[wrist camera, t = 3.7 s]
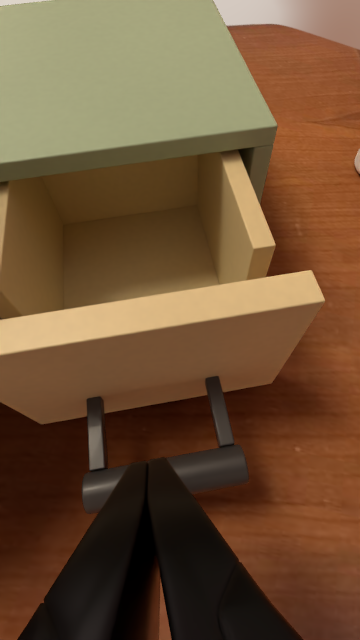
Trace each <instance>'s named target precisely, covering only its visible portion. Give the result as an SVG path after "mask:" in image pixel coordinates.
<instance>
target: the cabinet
mask: <svg viewBox="0 0 360 640" xmlns="http://www.w3.org/2000/svg"><path fill="white" fill-rule="evenodd" d="M276 131H277V123H276V121H275V119H274V117H273V116H272V114H271V112H270V110H269V108H268V106H267V104H266V102H265V100H264V98H263V96H262V94H261V92H260V90H259V88H258V87H257V85H256V83H255V81H254V79H253V77H252V75H251V73H250V71H249V69H248V67H247V65H246V63H245V61H244V59H243V58H242V56H241V54H240V52H239V50H238V48H237V46H236V44H235V42H234V40H233V38H232V36H231V34H230V32H229V30H228V28H227V27H226V25H225V23H224V21H223V19H222V17H221V15H220V13H219V11H218V9H217V7H216V5H215V3H214V1H213V0H51V1H42V2H33V3H24V4H15V5H5V6H0V182H4V181H11V180H19V179H26V178H33V177H40V176H47V175H55V174H62V173H69V172H76V171H84V170H91V169H98V168H105V167H113V166H120V165H127V164H134V163H142V162H149V161H156V160H163V159H171V158H178V157H185V156H192V155H200V154H207V153H214V152H221V151H229V150H236V149H238V151H239V154H240V156H241V159H242V161H243V164H244V166H245V169H246V171H247V174H248V176H249V179H250V181H251V184H252V186H253V189H254V191H255V194H256V196H257V199H258V201H259V204H260V202H261V198H262V193H263V189H264V184H265V180H266V176H267V171H268V167H269V162H270V158H271V153H272V149H273V143H274V140H275V135H276Z"/></svg>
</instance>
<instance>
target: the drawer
mask: <svg viewBox="0 0 360 640" xmlns="http://www.w3.org/2000/svg"><path fill="white" fill-rule="evenodd" d="M275 247H276V244H275V241H274V239H273V236H272V234H271V231H270V229H269V226H268V224H267V221H266V219H265V216H264V214H263V211H262V209H261V206H260V204H259V201H258V199H257V196H256V194H255V191H254V189H253V186H252V184H251V181H250V179H249V176H248V174H247V171H246V169H245V166H244V164H243V161H242V159H241V156H240V154H239V151H238V149H236V150H229V151H221V152H214V153H207V154H200V155H192V156H185V157H178V158H171V159H163V160H156V161H149V162H142V163H134V164H127V165H120V166H113V167H105V168H98V169H91V170H84V171H76V172H69V173H62V174H55V175H47V176H40V177H33V178H26V179H19V180H11V181H4V182H0V318H1V319H2V320H0V402H1V403H3V404H5V405H7V406H9V407H10V408H12V409H14V410H16V411H18V412H20V413H21V414H23V415H25V416H27V417H29V418H31V419H32V420H34V421H36V422H38V423H40V424H47V423H53V422H59V421H64V420H70V419H75V418H81V417H87V426H88V451H89V470H90V471H91V472H87V473H86V474H85V475H84V477H83V481H82V501H83V506H84V509H85V511H86V513H87V514H93V513H98V512H99V511H100V510H101V508H102V507H103V505H104V503H105V502H106V500H107V499H108V497H109V496H110V494H111V492H112V491H113V489H114V488H115V486H116V485H117V483H118V481H119V480H120V478H121V477H122V475H123V474H124V472H125V470H126V469H127V467H128V466H129V465H125V466H119V467H114V468H109V469H108V460H107V445H106V429H105V413H109V412H115V411H120V410H126V409H131V408H137V407H143V406H148V405H154V404H160V403H165V402H171V401H176V400H182V399H188V398H193V397H199V396H204V395H208V400H209V404H210V409H211V414H212V418H213V423H214V428H215V432H216V437H217V442H218V446H219V448H216V449H210V450H205V451H199V452H194V453H189V454H183V455H178V456H173V457H167V458H166V459H167V460H168V462H169V463H170V464H171V466H172V467H173V469H174V470H175V471H176V473H177V474H178V475H179V477H180V478H181V480H182V481H183V482H184V484H185V485H186V487H187V488H188V489H189V491H190V492H191V494H196V493H201V492H207V491H212V490H217V489H222V488H227V487H232V486H237V485H243V484H247V483H248V482H249V472H248V466H247V462H246V458H245V455H244V452H243V449H242V447H241V446H240V445H238V444H237V445H234V443H235V441H234V437H233V433H232V429H231V425H230V420H229V416H228V412H227V408H226V404H225V399H224V395H223V392H227V391H232V390H238V389H244V388H249V387H255V386H261V385H266V384H271V383H272V382H273V381H274V379H275V378H276V376H277V375H278V373H279V371H280V370H281V368H282V367H283V365H284V364H285V362H286V361H287V359H288V358H289V356H290V355H291V353H292V352H293V350H294V348H295V347H296V345H297V344H298V342H299V341H300V339H301V338H302V336H303V335H304V333H305V332H306V330H307V329H308V327H309V325H310V324H311V322H312V321H313V319H314V318H315V316H316V315H317V313H318V312H319V310H320V309H321V307H322V305H323V304H324V302H325V299H324V296H323V294H322V292H321V290H320V287H319V285H318V283H317V281H316V278H315V276H314V274H313V272H312V270H308V271H302V272H296V273H290V274H284V275H277V276H271V277H266V275H267V271H268V268H269V265H270V262H271V259H272V256H273V253H274V250H275ZM147 462H148V461H147Z"/></svg>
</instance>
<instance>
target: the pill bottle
mask: <svg viewBox="0 0 360 640" xmlns="http://www.w3.org/2000/svg"><path fill="white" fill-rule="evenodd" d="M354 163H355V167H356V170H357V172H358V173H359V174H360V149H359V151H358V153H357V155H356V158H355V162H354Z"/></svg>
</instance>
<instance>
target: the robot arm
mask: <svg viewBox="0 0 360 640" xmlns="http://www.w3.org/2000/svg"><path fill="white" fill-rule="evenodd" d="M160 577H161V583H162V588H163V594H164V599H165V605H166V610H167V616H168V621H169V627H170V632H171V638H172V640H303V639H302V637H301V636H300V635H299V634H298V633H297V632H296V631H295V630H294V628H293V627H292V626H291V625H290V624H289V623H288V622H287V620H286V619H285V618H284V617H283V616H282V615H281V613H280V612H279V611H278V610H277V609H276V608H275V607H274V605H273V604H272V603H271V602H270V600H269V599H268V598H267V596H266V595H265V594H264V593H263V591H262V590H261V589H260V587H259V586H258V585H257V583H256V582H255V581H254V580H253V578H252V577H251V575H250V574H249V573H248V571H247V570H246V568H245V567H244V566H243V564H242V563H241V562H239V559H238V558H237V556H236V555H235V553H234V552H233V551H232V549H231V548H230V547H229V545H228V544H227V542H226V541H225V540H224V538H223V537H222V535H221V534H220V533H219V531H218V530H217V528H216V527H215V526H214V524H213V523H212V521H211V520H210V519H209V517H208V516H207V514H206V513H205V512H204V510H203V509H202V508H201V506H200V505H199V503H198V502H197V501H196V499H195V498H194V496H193V495H192V494H191V492H190V491H189V489H188V488H187V487H186V485H185V484H184V482H183V481H182V480H181V478H180V477H179V475H178V474H177V473H176V471H175V470H174V469H173V467H172V466H171V464H170V463H169V462H168V460H167V459H166V458H165V457H161V458H156V459H151V460H149V461H148V462H147V461H140V462H135V463H131V464H130V465H129V466H128V467H127V469H126V470H125V472H124V474H123V475H122V477H121V478H120V480H119V481H118V483H117V485H116V486H115V488H114V489H113V491H112V492H111V494H110V496H109V497H108V499H107V500H106V502H105V503H104V505H103V507H102V508H101V510H100V511H99V513H98V514H97V516H96V518H95V519H94V521H93V522H92V524H91V525H90V527H89V529H88V530H87V532H86V533H85V535H84V536H83V538H82V540H81V541H80V543H79V544H78V546H77V547H76V549H75V551H74V552H73V554H72V555H71V557H70V558H69V560H68V562H67V563H66V565H65V566H64V568H63V569H62V571H61V573H60V574H59V576H58V577H57V579H56V580H55V582H54V584H53V585H52V587H51V588H50V590H49V591H48V593H47V595H46V596H45V598H44V603H41V604H40V605H39V607H38V608H37V610H36V611H35V613H34V615H33V616H32V618H31V619H30V621H29V622H28V624H27V626H26V627H25V629H24V630H23V632H22V633H21V635H20V636H19V638H18V639H17V640H159V610H160Z"/></svg>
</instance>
